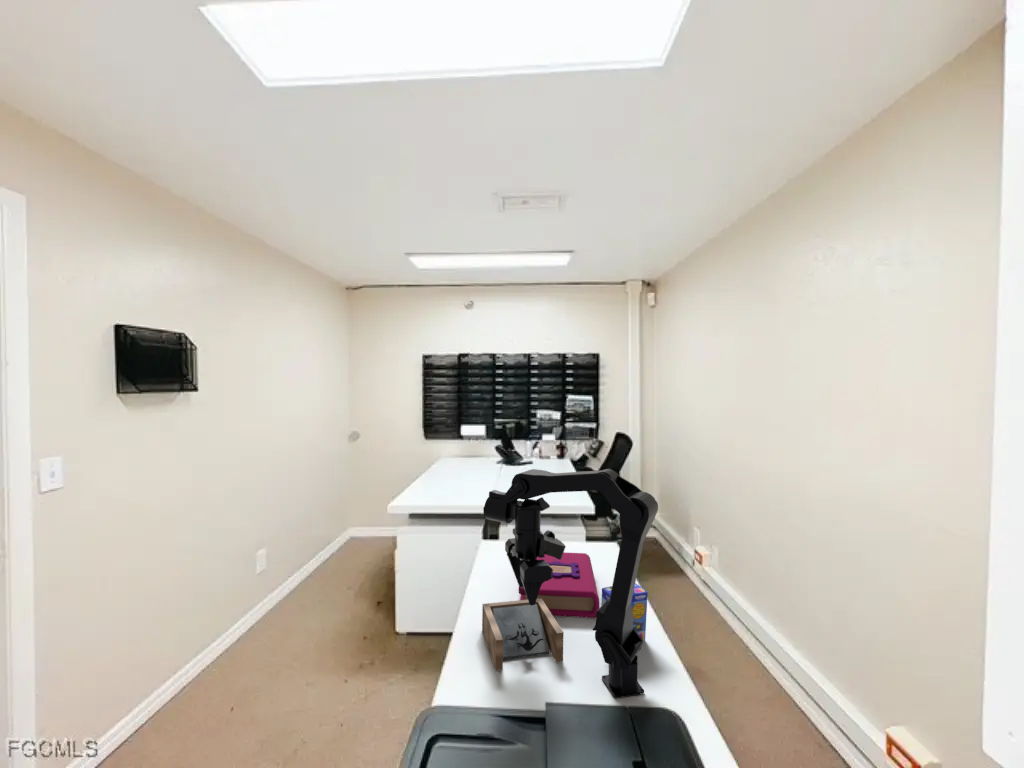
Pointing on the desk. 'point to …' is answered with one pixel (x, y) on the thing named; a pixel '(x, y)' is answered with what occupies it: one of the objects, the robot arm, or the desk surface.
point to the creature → (527, 645)
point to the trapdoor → (509, 626)
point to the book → (569, 587)
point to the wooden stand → (495, 638)
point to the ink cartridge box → (634, 607)
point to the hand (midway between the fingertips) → (526, 595)
